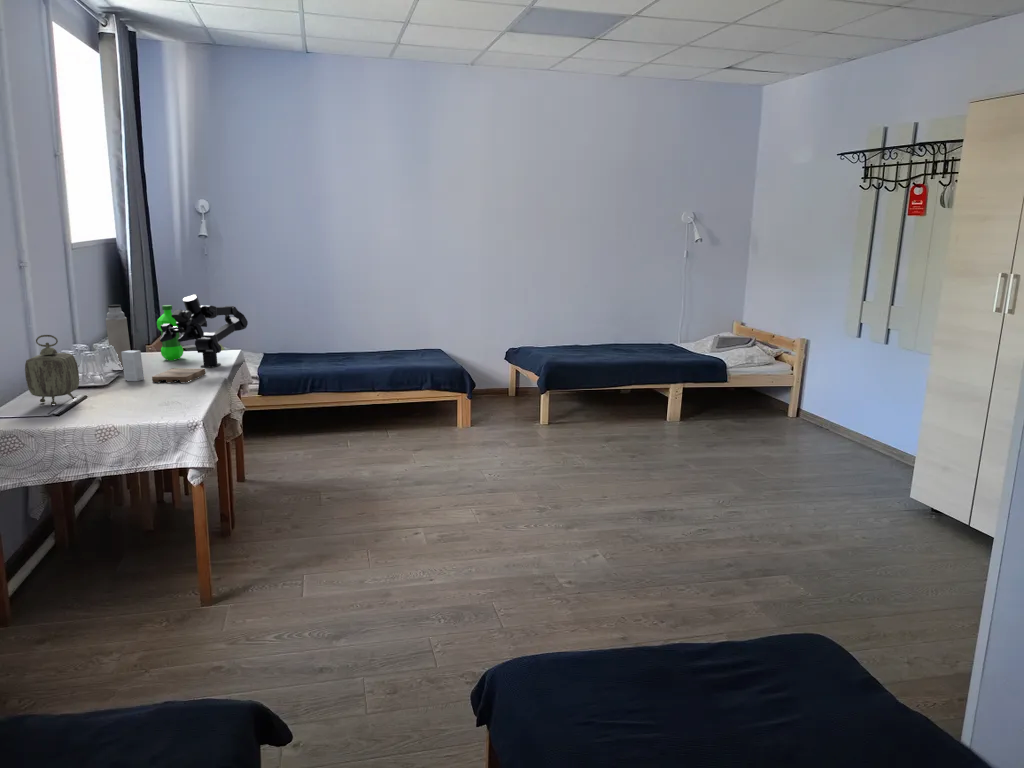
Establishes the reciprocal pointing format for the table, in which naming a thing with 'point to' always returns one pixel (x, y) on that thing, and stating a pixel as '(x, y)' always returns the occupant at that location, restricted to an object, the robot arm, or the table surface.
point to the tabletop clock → (51, 373)
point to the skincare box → (132, 365)
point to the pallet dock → (179, 375)
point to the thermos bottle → (117, 330)
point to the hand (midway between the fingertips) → (169, 340)
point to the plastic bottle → (172, 347)
